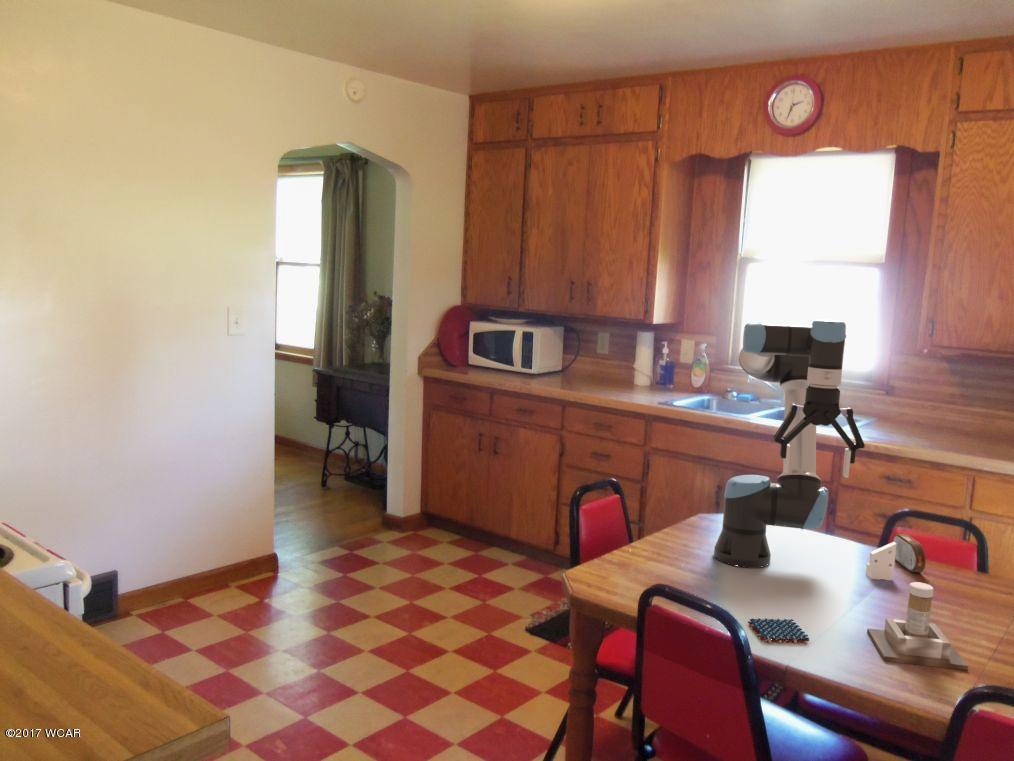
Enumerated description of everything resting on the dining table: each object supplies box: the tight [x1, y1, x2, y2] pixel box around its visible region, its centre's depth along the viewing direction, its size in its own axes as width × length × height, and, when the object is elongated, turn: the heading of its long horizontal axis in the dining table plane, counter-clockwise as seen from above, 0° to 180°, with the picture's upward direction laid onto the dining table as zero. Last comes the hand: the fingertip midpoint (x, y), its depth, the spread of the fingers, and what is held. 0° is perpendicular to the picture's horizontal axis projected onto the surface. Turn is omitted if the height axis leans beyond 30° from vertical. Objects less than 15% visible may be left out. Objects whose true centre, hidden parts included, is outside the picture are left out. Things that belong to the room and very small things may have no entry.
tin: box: [892, 533, 927, 574], centre depth 228 cm, size 15×3×8 cm, turn 179°
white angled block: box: [865, 541, 897, 581], centre depth 219 cm, size 4×10×9 cm, turn 84°
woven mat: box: [747, 617, 810, 645], centre depth 181 cm, size 10×11×2 cm
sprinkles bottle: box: [905, 581, 935, 638], centre depth 175 cm, size 5×5×13 cm
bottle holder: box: [866, 618, 969, 671], centre depth 175 cm, size 16×14×4 cm
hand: (815, 474), depth 196 cm, fingers open, 13 cm apart
